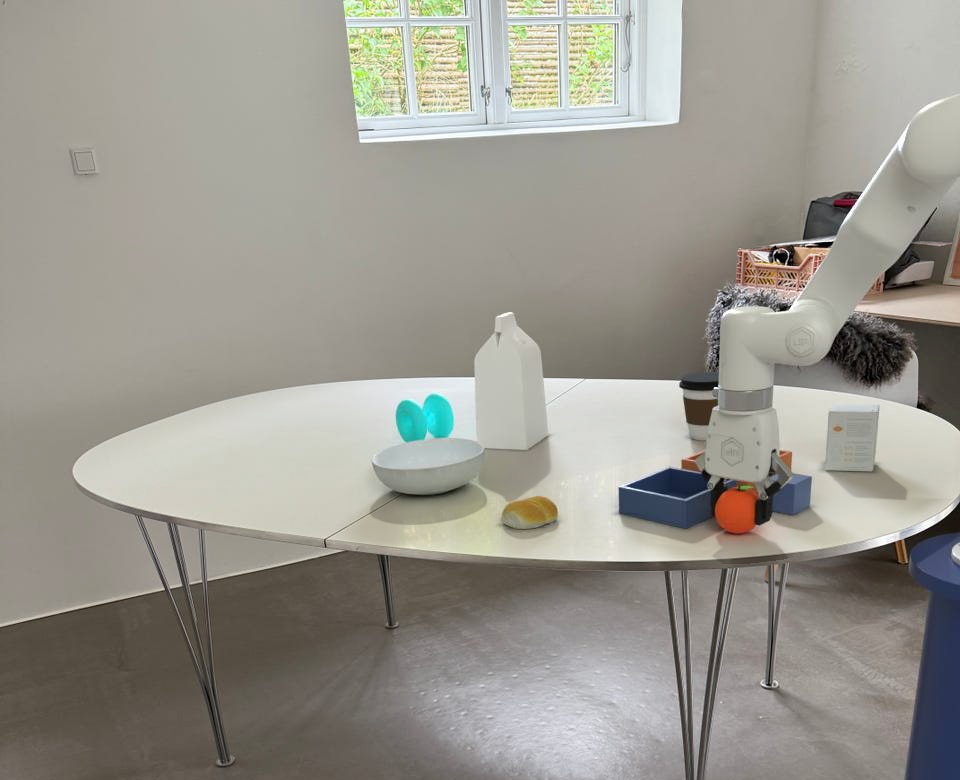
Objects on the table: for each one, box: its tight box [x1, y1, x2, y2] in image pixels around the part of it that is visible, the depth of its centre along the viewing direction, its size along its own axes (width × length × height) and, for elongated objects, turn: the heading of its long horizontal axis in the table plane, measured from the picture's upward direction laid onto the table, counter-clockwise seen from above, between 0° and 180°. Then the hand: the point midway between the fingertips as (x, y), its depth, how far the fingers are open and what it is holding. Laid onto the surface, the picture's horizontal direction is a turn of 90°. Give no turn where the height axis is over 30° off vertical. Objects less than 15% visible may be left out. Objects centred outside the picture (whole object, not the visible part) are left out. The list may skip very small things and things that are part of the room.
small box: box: [824, 403, 880, 472], centre depth 165 cm, size 8×6×10 cm
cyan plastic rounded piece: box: [395, 392, 455, 443], centre depth 207 cm, size 10×10×10 cm
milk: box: [473, 312, 549, 451], centre depth 197 cm, size 12×12×26 cm
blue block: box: [772, 472, 813, 516], centre depth 150 cm, size 5×5×5 cm
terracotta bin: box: [680, 449, 793, 494], centre depth 165 cm, size 13×13×4 cm
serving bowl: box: [371, 437, 486, 496], centre depth 176 cm, size 21×21×7 cm
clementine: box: [714, 486, 760, 534], centre depth 142 cm, size 8×7×7 cm
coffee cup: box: [678, 371, 719, 441], centre depth 191 cm, size 11×11×12 cm
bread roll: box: [501, 495, 559, 530], centre depth 155 cm, size 8×9×4 cm
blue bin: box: [618, 466, 737, 529], centre depth 154 cm, size 13×13×4 cm
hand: (740, 517), depth 142 cm, fingers closed on clementine, 7 cm apart
